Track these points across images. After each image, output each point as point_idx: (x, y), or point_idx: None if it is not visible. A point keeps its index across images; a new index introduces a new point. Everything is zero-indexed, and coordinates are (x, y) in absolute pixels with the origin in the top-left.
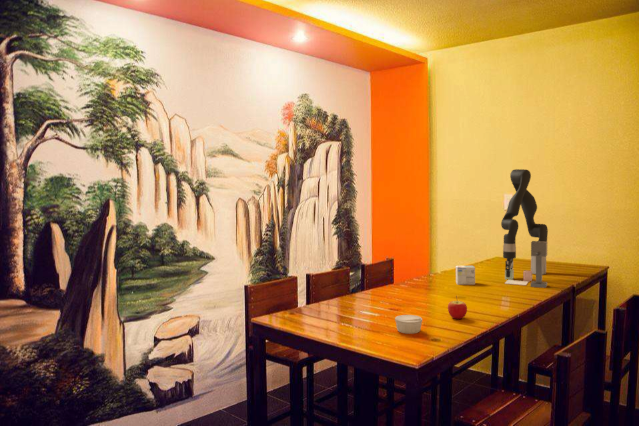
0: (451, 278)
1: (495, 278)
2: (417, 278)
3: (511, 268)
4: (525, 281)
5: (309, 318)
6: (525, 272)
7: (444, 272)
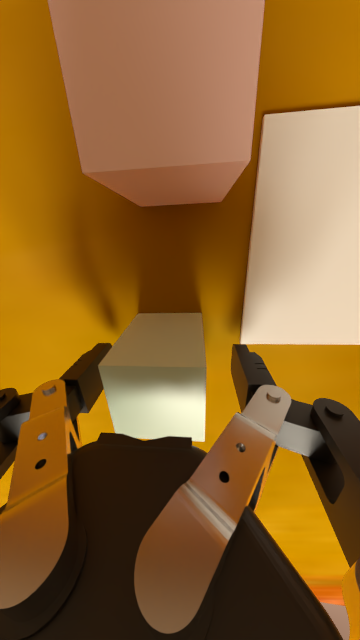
0: (280, 547)
1: None
2: None
3: (69, 396)
4: (290, 157)
5: None
6: (248, 111)
7: None
